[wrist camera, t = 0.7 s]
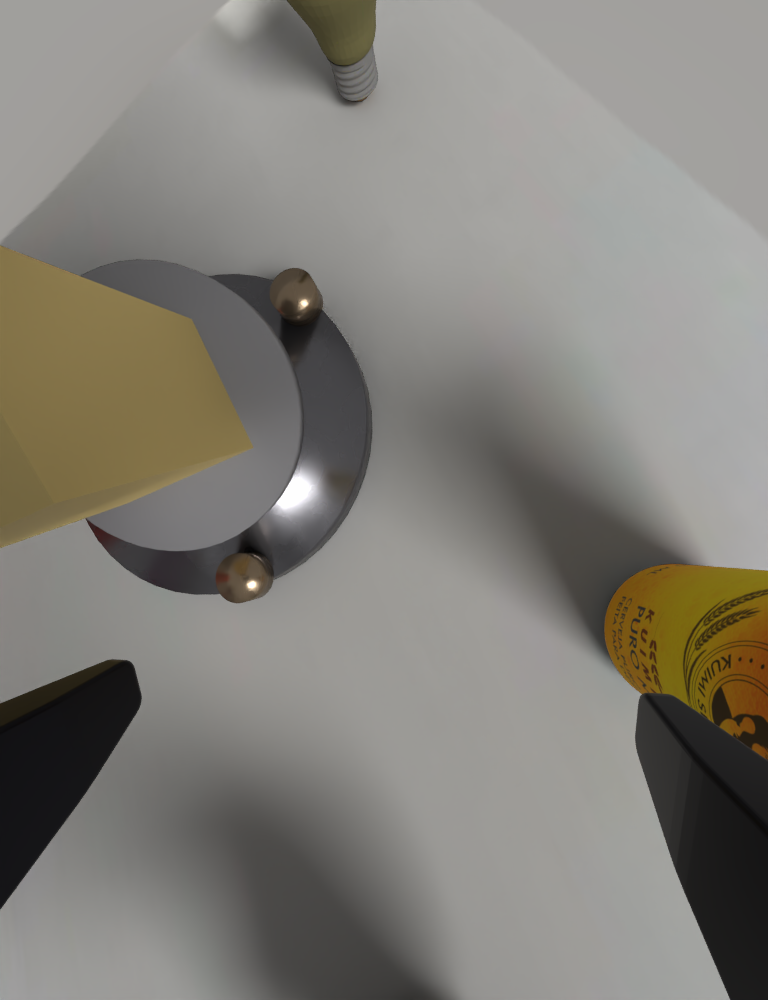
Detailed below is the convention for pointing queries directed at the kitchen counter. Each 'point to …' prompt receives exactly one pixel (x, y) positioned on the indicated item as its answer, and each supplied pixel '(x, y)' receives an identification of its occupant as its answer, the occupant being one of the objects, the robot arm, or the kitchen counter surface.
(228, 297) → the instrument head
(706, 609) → the beer can
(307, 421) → the base
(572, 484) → the kitchen counter surface
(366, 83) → the light bulb
